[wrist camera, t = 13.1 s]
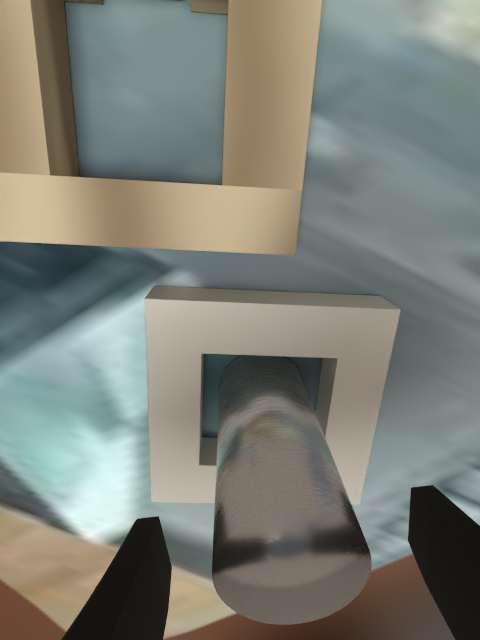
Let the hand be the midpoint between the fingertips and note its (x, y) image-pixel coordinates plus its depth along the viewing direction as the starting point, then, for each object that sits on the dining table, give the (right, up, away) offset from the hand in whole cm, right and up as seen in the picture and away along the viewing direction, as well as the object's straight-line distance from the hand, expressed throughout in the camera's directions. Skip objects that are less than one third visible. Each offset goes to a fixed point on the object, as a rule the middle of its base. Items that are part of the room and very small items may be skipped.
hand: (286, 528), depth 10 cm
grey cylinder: (0, +3, +7) cm, 8 cm away
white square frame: (0, +3, +7) cm, 8 cm away
